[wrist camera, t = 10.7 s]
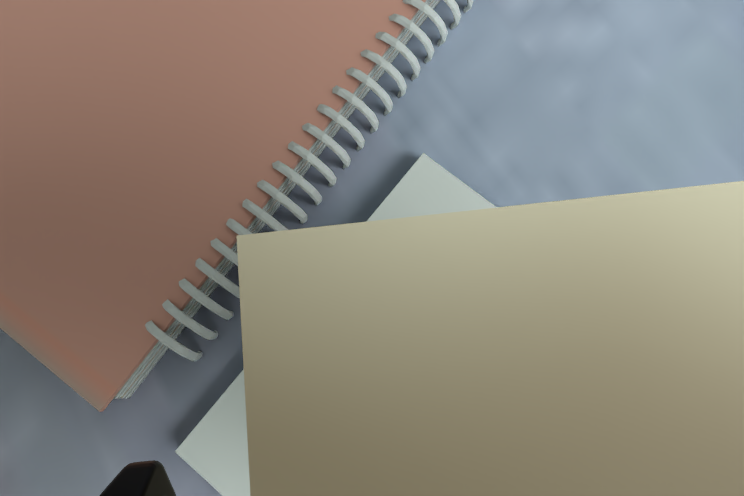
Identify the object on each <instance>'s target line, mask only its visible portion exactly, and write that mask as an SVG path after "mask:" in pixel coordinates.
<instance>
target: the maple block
mask: <svg viewBox="0 0 744 496" xmlns="http://www.w3.org/2000/svg"><path fill="white" fill-rule="evenodd" d="M237 255H238V274H239V292H240V311H241V329H242V348H243V366H244V385H245V403H246V422H247V440H248V459H249V478H250V496H744V181H739V182H730V183H721V184H711V185H702V186H693V187H683V188H674V189H665V190H656V191H646V192H637V193H628V194H618V195H609V196H600V197H590V198H581V199H572V200H563V201H553V202H544V203H535V204H525V205H516V206H507V207H497V208H488V209H479V210H470V211H460V212H451V213H442V214H432V215H423V216H414V217H404V218H395V219H386V220H377V221H367V222H358V223H349V224H339V225H330V226H321V227H311V228H302V229H293V230H284V231H274V232H265V233H256V234H246V235H237Z"/></svg>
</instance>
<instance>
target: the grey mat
mask: <svg viewBox="0 0 744 496" xmlns="http://www.w3.org/2000/svg"><path fill="white" fill-rule="evenodd" d="M488 208H497V207H495V206H494V205H493V204H491V203H490V202H489V201H487V200H486V199H485V198H483V197H482V196H481V195H479V194H478V193H477V192H475V191H474V190H473V189H471V188H470V187H468V186H467V185H466V184H464V183H463V182H462V181H460V180H459V179H458V178H456V177H455V176H454V175H452V174H451V173H450V172H448V171H447V170H446V169H444V168H443V167H442V166H440V165H439V164H438V163H436V162H435V161H434V160H432V159H431V158H430V157H428V156H427V155H425V154H424V153H423V154H422V155H421V156H420V158H419V159H418V160H417V161H416V162H415V164H414V165H413V166H412V167H411V168H410V170H409V171H408V172H407V173H406V174H405V176H404V177H403V178H402V179H401V180H400V182H399V183H398V184H397V185H396V186H395V188H394V189H393V190H392V191H391V192H390V194H389V195H388V196H387V197H386V198H385V200H384V201H383V202H382V203H381V204H380V206H379V207H378V208H377V209H376V210H375V212H374V213H373V214H372V215H371V216H370V218H369V219H368V220H367V221H377V220H386V219H395V218H404V217H414V216H423V215H432V214H442V213H451V212H460V211H470V210H479V209H488ZM367 221H366V222H367ZM175 452H176V453H177V454H178V455H179V456H180V457H181V458H182V459H183V460H184V461H185V462H187V463H188V464H189V465H190V466H191V467H192V468H193V469H194V470H195V471H196V472H197V473H199V474H200V475H201V476H202V477H203V478H204V479H205V480H206V481H207V482H208V483H209V484H210V485H212V486H213V487H214V488H215V489H216V490H217V491H218V492H219V493H220V494H221V495H222V496H250V478H249V459H248V440H247V422H246V403H245V385H244V369H243V370H242V372H241V373H240V374H239V375H238V376H237V378H236V379H235V380H234V381H233V382H232V384H231V385H230V386H229V387H228V388H227V390H226V391H225V392H224V393H223V394H222V396H221V397H220V398H219V399H218V400H217V402H216V403H215V404H214V405H213V406H212V408H211V409H210V410H209V411H208V412H207V414H206V415H205V416H204V417H203V418H202V420H201V421H200V422H199V423H198V424H197V426H196V427H195V428H194V429H193V430H192V432H191V433H190V434H189V435H188V436H187V438H186V439H185V440H184V441H183V442H182V444H181V445H180V446H179V447H178V448H177V450H176V451H175Z"/></svg>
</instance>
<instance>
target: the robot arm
mask: <svg viewBox="0 0 744 496" xmlns="http://www.w3.org/2000/svg"><path fill="white" fill-rule="evenodd" d="M100 496H176V494H175V492H174V490H173V487H172V485H171V483H170V480H169V478H168V476H167V473H166V471H165V469H164V467H163V465H162V464H161V463H160V462H159V461H155V460H154V461H144V462H134V463H130V464H128V465H127V466H126V467H124V468H123V469H122V470H121V472H120V473H119V474H118V475H117V476H116V477H115V478H114V480H113V481H112V482H111V483H110V484H109V485H108V486H107V488H106V489H105V490H104V491H103V492H102V493H101V494H100Z"/></svg>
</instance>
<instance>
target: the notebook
mask: <svg viewBox="0 0 744 496" xmlns="http://www.w3.org/2000/svg"><path fill="white" fill-rule="evenodd" d="M473 1H474V0H467V6H465V7H464V10H463V12H464V13H466V12H467V11H469V10H470V9H471V7H472V4H473ZM439 2H440V0H0V328H1V329H2V330H3V331H4V332H5V333H7V334H8V335H9V336H10V337H11V338H13V339H14V340H15V341H16V342H17V343H18V344H20V345H21V346H22V347H23V348H24V349H26V350H27V351H28V352H29V353H30V354H32V355H33V356H34V357H35V358H36V359H37V360H39V361H40V362H41V363H42V364H43V365H45V366H46V367H47V368H48V369H49V370H51V371H52V372H53V373H54V374H55V375H56V376H58V377H59V378H60V379H61V380H62V381H64V382H65V383H66V384H67V385H68V386H69V387H71V388H72V389H73V390H74V391H75V392H77V393H78V394H79V395H80V396H81V397H83V398H84V399H85V400H86V401H87V402H88V403H90V404H91V405H92V406H93V407H94V408H96V409H97V410H98V411H99V412H103V411H104V410H105V408H106V407H107V406H108V405H109V403H110V402H111V401H112V399H113V398H114V399H117V398H118V399H120V398H122V399H124V398H130V397H131V396H132V394H133V393H134V392H135V391H136V389H137V388H138V387H139V385H140V384H141V383H142V382H143V380H144V379H145V378H146V376H147V375H148V374H149V373H150V371H151V370H152V369H153V368H154V366H155V365H156V364H157V362H158V361H159V360H160V359H161V357H162V356H163V355H164V353H165V352H166V351H167V350H168V348H170V349H171V350H173V351H174V352H176V353H177V354H179V355H180V356H182V357H185V358H187V359H189V360H191V361H198V360H199V359H200V358H201V357H202V352H201V351H198V352H197V353H196V352H194V351H192V350H190V349H188V348H187V347H185V346H184V345H182V344H180V343H179V342H177V341H176V340H175V339H176V338H177V337H178V336H179V334H180V333H181V332H182V330H183V329H184V328H185V327H188V328H189V329H191V330H192V331H194V332H195V333H197V334H198V335H200V336H202V337H204V338H206V339H208V340H213V339H216V338H217V336H218V332H217V331H214V332H213V331H211V330H209V329H207V328H205V327H204V326H202V325H201V324H199V323H198V322H196V321H195V320H193V319H192V318H193V316H194V315H195V314H196V313H197V311H198V310H199V309H200V307H201V306H202V305H204V306H205V307H206V308H208V309H209V310H211V311H212V312H214V313H215V314H217V315H218V316H220V317H222V318H224V319H226V320H229V319H230V318H232V317H233V311H230V310H226V309H224V308H223V307H222V306H220V305H219V304H217V303H216V302H215V301H213V300H212V299H211V298H209V296H210V295H211V293H212V292H213V291H214V290H215V288H216V287H217V286H218V284H219V285H220V286H222V287H223V288H225V289H226V290H227V291H229V292H230V293H232V294H233V295H235V296H236V297H238V298H239V299H240V292H239V287H238V286H237V285H236V284H234V283H233V282H231V281H230V280H229V279H227V278H226V277H225V275H226V274H227V273H228V272H229V270H230V269H231V268H232V266H233V265H234V264H235V265H237V266H238V255H237V235H246V234H256V233H259V232H260V231H261V229H262V228H263V227H264V226H265V224H267V225H268V226H269V227H271V228H272V229H273V230H275V231H284V230H288V229H287V228H286V227H284V226H283V225H282V224H281V223H279V222H278V221H277V220H276V219H275V218H273V217H272V215H273V214H274V213H275V211H276V210H277V209H278V208H279V206H280V205H281V204H282V205H283V206H285V207H286V208H287V209H288V210H289V211H291V212H292V213H293V214H294V215H295V216H296V217H297V218H298V219H299V220H300V223H301V224H303V223H305V222H306V221H307V217H308V215H307V214H306V213H305V212H304V211H303V210H302V209H301V208H300V207H299V206H298V205H297V204H295V203H294V202H293V201H292V200H291V199H289V198H288V197H287V196H288V195H289V194H290V192H291V191H292V190H293V188H294V187H295V186H296V185H298V186H299V187H300V188H302V189H303V190H304V191H305V192H306V193H308V194H309V196H310V197H311V198H312V199H313V200H314V201H315V202H314V204H315V205H318V204H320V203H321V202H322V196H321V195H320V194H319V192H318V191H317V190H316V189H315V188H314V187H313V186H312V185H311V184H310V183H309V182H308V181H307V180H306V179H304V178H303V176H304V174H305V173H306V172H307V171H308V169H309V168H310V167H311V165H313V166H314V167H315V168H316V169H317V170H318V171H319V172H321V173H322V174H323V175H324V177H325V178H326V179H327V180H328V181H329V185H328V186H329V187H332V186H333V185H335V184H336V179H337V178H336V176H335V175H334V174H333V172H332V171H331V169H330V168H328V167H327V166H326V165H325V164H324V163H323V162H322V161H321V160H320V159H318V157H319V155H320V154H321V153H322V151H323V150H324V149H325V148H326V146H328V147H329V148H330V149H331V150H332V151H333V152H334V153H336V154H337V155H338V157H339V158H340V159H341V160H342V162H343V166H342V167H343V169H345V168H347V167H348V166H350V162H351V159H350V157H349V156H348V154H347V152H346V151H345V150H344V149H343V148H342V147H341V146H340V145H339V144H338V143H337V142H335V141H334V140H333V137H334V136H335V135H336V133H337V132H338V131H339V130H340V128H341V127H343V128H344V129H345V130H346V131H347V132H348V133H349V134H350V135H351V136H352V137H353V138H354V140H355V141H356V142H357V144H358V145H357V148H356V150H357V151H359V150H361V149H362V148H364V144H365V140H364V138H363V136H362V134H361V133H360V131H359V130H358V129H357V128H356V127H354V126H353V125H352V124H351V123H350V122H349V121H348V120H347V119H348V118H349V117H350V116H351V114H352V113H353V112H354V110H355V109H356V108H357V109H358V110H359V111H360V112H361V113H362V114H363V115H365V116H366V117H367V119H368V120H369V122H370V123H371V125H372V127H371V130H370V132H371V133H373V132H375V131H376V130H378V126H379V121H378V119H377V117H376V115H375V113H374V112H373V111H372V110H371V109H370V108H369V107H368V106H367V105H366V104H365V103H364V102H363V101H362V100H363V99H364V98H365V96H366V95H367V94H368V93H369V91H370V90H372V91H373V92H374V93H375V94H376V95H377V96H379V97H380V98H381V100H382V101H383V103H384V105H385V107H386V109H385V111H384V113H383V114H384V115H385V116H386V115H387V114H389V113H390V112H391V111H392V107H393V103H392V101H391V99H390V96H389V95H388V94H387V92H386V91H385V90H384V89H383V88H382V87H381V86H380V85H379V84H378V83H376V82H377V81H378V80H379V78H380V77H381V76H382V75H383V73H384V72H385V71H386V72H387V73H388V74H389V75H390V76H391V77H392V78H393V79H394V80H395V81H396V83H397V84H398V86H399V90H400V91H399V92H398V95H397V97H398V98H400V97H401V96H403V95H405V92H406V88H407V85H406V83H405V80H404V78H403V76H402V75H401V74H400V72H399V71H398V70H397V69H396V68H395V67H394V66H393V65H392V64H391V63H392V62H393V61H394V59H395V58H396V57H397V55H398V54H399V53H401V54H402V55H403V56H404V57H405V58H406V59H407V60H408V61H409V63H410V65H411V66H412V68H413V74H412V76H411V80H412V81H413V80H414V79H416V78H417V77H418V76H419V73H420V69H421V68H420V65H419V62H418V60H417V58H416V57H415V56H414V54H413V53H412V52H411V51H410V50H409V49H408V48H407V47H406V46H405V45H406V44H407V43H408V41H409V40H410V39H411V38H412V36H413V35H415V36H416V37H417V38H418V39H419V40H420V41H421V42H422V44H423V45H424V47H425V49H426V52H427V56H426V57H425V60H424V63H425V64H426V63H427V62H429V61H430V60H432V57H433V53H434V48H433V45H432V42H431V40H430V39H429V38H428V36H427V35H426V34H425V33H424V32H423V31H422V30H421V29H420V28H419V27H420V26H421V25H422V23H423V22H424V21H425V20H426V18H427V17H429V18H430V19H431V20H432V21H433V22H434V23H435V25H436V26H437V27H438V29H439V32H440V37H441V39H439V40H438V43H437V45H438V47H439V46H441V45H442V44H444V43H445V40H446V37H447V34H448V32H447V29H446V26H445V23H444V21H443V20H442V19H441V17H440V16H439V15H438V14H437V13H436V12H435V11H434V10H433V9H434V8H435V7H436V6H437V4H438V3H439ZM444 2H445V3H446V4H447V5H448V6H449V7H450V9H451V10H452V13H453V16H454V22H453V23H452V24H451V27H450V29H451V30H452V29H454V28H455V27H457V26H458V24H459V21H460V18H461V13H460V10H459V6H458V4H457V3H456V2H455V0H444Z"/></svg>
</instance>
